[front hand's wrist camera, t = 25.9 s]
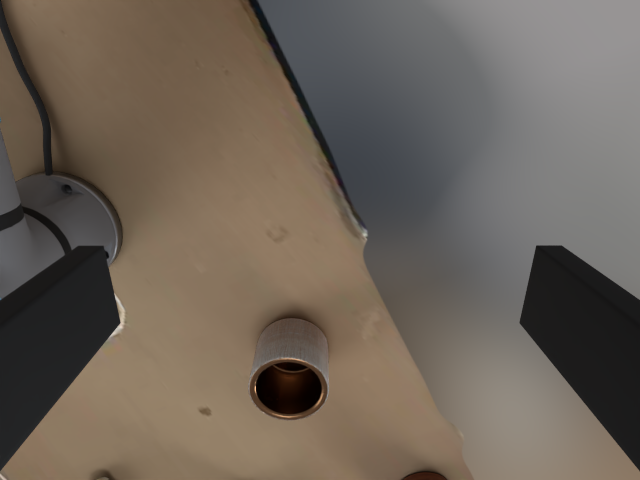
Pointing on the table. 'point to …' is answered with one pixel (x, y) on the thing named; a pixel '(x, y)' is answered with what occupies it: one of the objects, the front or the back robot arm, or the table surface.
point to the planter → (290, 370)
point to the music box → (425, 476)
